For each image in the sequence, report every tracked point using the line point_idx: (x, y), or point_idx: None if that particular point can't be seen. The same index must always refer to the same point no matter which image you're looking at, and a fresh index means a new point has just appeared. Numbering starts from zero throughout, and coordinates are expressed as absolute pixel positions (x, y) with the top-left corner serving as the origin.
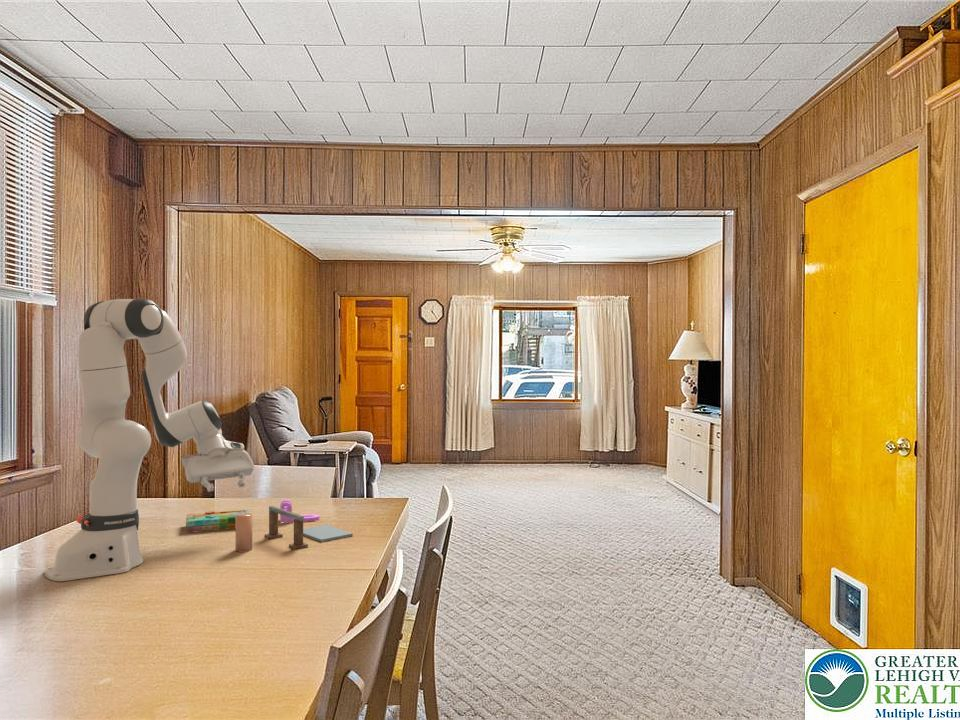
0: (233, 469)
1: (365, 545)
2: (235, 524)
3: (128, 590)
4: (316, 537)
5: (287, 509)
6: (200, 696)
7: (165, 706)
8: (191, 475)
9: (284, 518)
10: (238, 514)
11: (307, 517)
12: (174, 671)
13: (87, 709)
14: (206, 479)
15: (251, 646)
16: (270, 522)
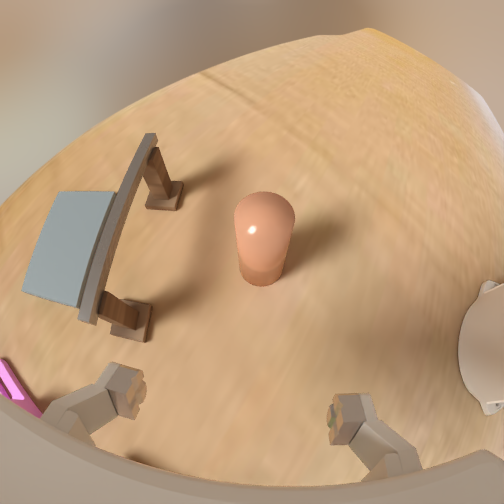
0: (105, 465)
1: (105, 138)
2: None
3: (475, 197)
4: (104, 211)
5: None
6: (409, 50)
7: (423, 55)
8: (492, 454)
9: (34, 414)
10: (273, 238)
11: (4, 375)
12: (422, 65)
13: (452, 74)
14: (387, 456)
15: (380, 52)
16: (122, 313)
